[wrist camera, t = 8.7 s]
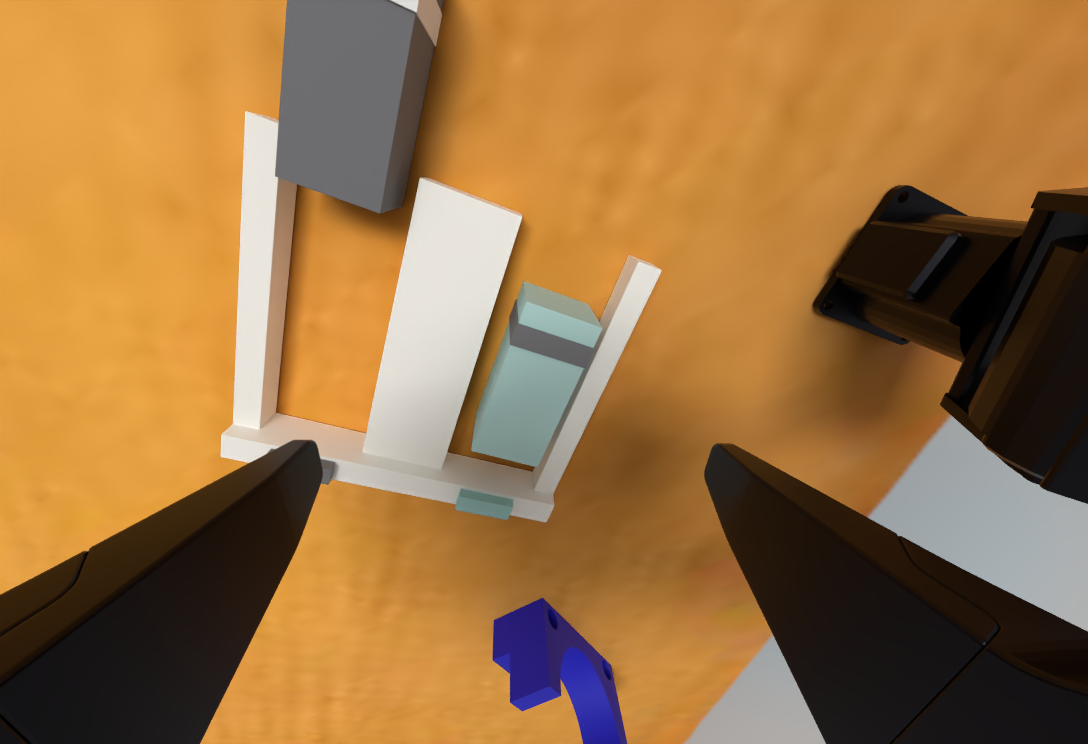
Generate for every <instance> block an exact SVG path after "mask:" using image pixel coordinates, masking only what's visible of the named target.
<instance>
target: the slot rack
mask: <svg viewBox="0 0 1088 744" xmlns="http://www.w3.org/2000/svg"><path fill="white" fill-rule="evenodd" d="M278 124H279V120H277V119H274V118H271V117H268V116H264V115H260V114H256V113H252V112H247V111H245V134H244V159H243V185H242V210H241V235H240V261H239V286H238V311H237V337H236V362H235V387H234V412H233V424H232V425H231V426H230V427H229V428H228V429H227V430H226V431H225V432H224V433H222V434H221V457H224V458H229V459H234V460H239V461H243V462H248V463H250V462H252V461H254V460H256V459H258V458H260V457H262V456H264V455H265V454H267V453H269V452H271V451H273V450H275V449H277V448H279V447H280V446H282V445H284V444H286V443H288V442H290V441H292V440H313V441H315V442H316V444H317V446H318V450H319V455H320V459H321V464H322V468H323V478H322V482H321V483H322V484H327V485H328V484H329V482H330V481H331V479H333V480H338V481H343V482H348V483H353V484H358V485H363V486H368V487H372V488H377V489H382V490H387V491H392V492H397V493H402V494H407V495H412V496H417V497H422V498H427V499H432V500H437V501H442V502H447V503H452V504H456V505H455V510H458V511H464V512H469V513H474V514H479V515H484V516H489V517H494V518H499V519H504V520H508V518H509V516H510V515H511V516H516V517H521V518H526V519H531V520H536V521H541V522H547V520H548V518H549V516H550V514H551V512H552V510H553V508H554V506H555V504H554V497H553V493H554V491H555V489H556V487H557V485H558V483H559V481H560V479H561V477H562V475H563V473H564V471H565V469H566V467H567V465H568V462H569V460H570V458H571V456H572V454H573V452H574V450H575V448H576V446H577V444H578V442H579V440H580V438H581V436H582V434H583V432H584V430H585V428H586V425H587V423H588V421H589V419H590V417H591V415H592V413H593V411H594V409H595V407H596V405H597V403H598V401H599V399H600V397H601V395H602V393H603V390H604V388H605V386H606V384H607V382H608V380H609V378H610V376H611V374H612V372H613V370H614V368H615V366H616V364H617V362H618V360H619V358H620V355H621V353H622V351H623V349H624V347H625V345H626V343H627V341H628V339H629V337H630V335H631V333H632V331H633V329H634V327H635V325H636V323H637V320H638V318H639V316H640V314H641V312H642V310H643V308H644V306H645V304H646V302H647V300H648V298H649V296H650V294H651V292H652V290H653V288H654V285H655V283H656V281H657V279H658V277H659V275H660V273H661V271H662V270H661V269H659V268H657V267H656V266H654V265H653V264H651V263H649V262H646V261H644V260H641V259H638V258H636V257H633V256H631V255H629V256H628V258H627V260H626V262H625V265H624V267H623V269H622V271H621V274H620V276H619V278H618V280H617V283H616V285H615V287H614V289H613V292H612V294H611V296H610V298H609V301H608V303H607V305H606V307H605V310H604V312H603V314H602V317H601V319H600V321H599V323H600V324H601V326H602V327H603V329H602V331H601V333H600V335H599V337H598V340H597V342H596V344H595V346H594V349H595V350H594V352H593V355H592V357H591V359H590V361H589V363H588V365H587V367H586V369H585V368H584V369H583V372H582V374H581V376H580V378H579V380H578V382H577V384H576V387H575V389H574V391H573V393H572V395H571V397H570V399H569V402H568V404H567V406H566V408H565V410H564V412H563V414H562V416H561V419H560V421H559V423H558V425H557V427H556V429H555V431H554V434H553V436H552V438H551V440H550V442H549V444H548V446H547V449H546V451H545V453H544V455H543V457H542V459H541V461H540V464H539V466H538V467H535V468H534V470H533V472H532V471H527V470H523V469H519V468H514V467H510V466H506V465H501V464H497V463H493V462H488V461H484V460H480V459H475V458H471V457H467V456H462V455H458V454H453V453H449V452H447V451H448V448H449V444H450V441H451V438H452V435H453V432H454V429H455V426H456V423H457V419H458V416H459V413H460V410H461V407H462V404H463V401H464V398H465V395H466V391H467V388H468V385H469V382H470V379H471V376H472V373H473V370H474V366H475V363H476V360H477V357H478V354H479V351H480V348H481V345H482V341H483V338H484V335H485V332H486V329H487V326H488V323H489V320H490V317H491V313H492V310H493V307H494V304H495V301H496V298H497V295H498V292H499V288H500V285H501V282H502V279H503V276H504V273H505V270H506V267H507V263H508V260H509V257H510V254H511V251H512V248H513V245H514V242H515V239H516V235H517V232H518V229H519V226H520V223H521V220H522V214H521V213H519V212H516V211H513V210H511V209H508V208H506V207H503V206H500V205H498V204H495V203H493V202H490V201H487V200H485V199H482V198H480V197H477V196H474V195H472V194H469V193H467V192H464V191H461V190H459V189H456V188H454V187H451V186H448V185H446V184H443V183H441V182H438V181H435V180H433V179H430V178H428V177H425V178H420V180H419V184H418V189H417V194H416V199H415V203H414V208H413V213H412V218H411V222H410V227H409V232H408V237H407V242H406V246H405V251H404V256H403V261H402V265H401V270H400V275H399V280H398V284H397V289H396V294H395V299H394V303H393V308H392V313H391V318H390V323H389V327H388V332H387V337H386V342H385V346H384V351H383V356H382V361H381V365H380V370H379V375H378V380H377V385H376V389H375V394H374V399H373V404H372V408H371V413H370V418H369V423H368V427H367V432H366V433H362V432H358V431H354V430H349V429H345V428H341V427H336V426H332V425H328V424H323V423H319V422H315V421H310V420H306V419H302V418H297V417H293V416H289V415H284V414H280V413H276V408H277V397H278V386H279V375H280V364H281V353H282V343H283V332H284V321H285V310H286V299H287V288H288V278H289V267H290V256H291V245H292V234H293V224H294V213H295V202H296V191H297V184H295V183H292V182H289V181H286V180H284V179H281V178H278V177H275V166H276V152H277V138H278Z"/></svg>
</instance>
